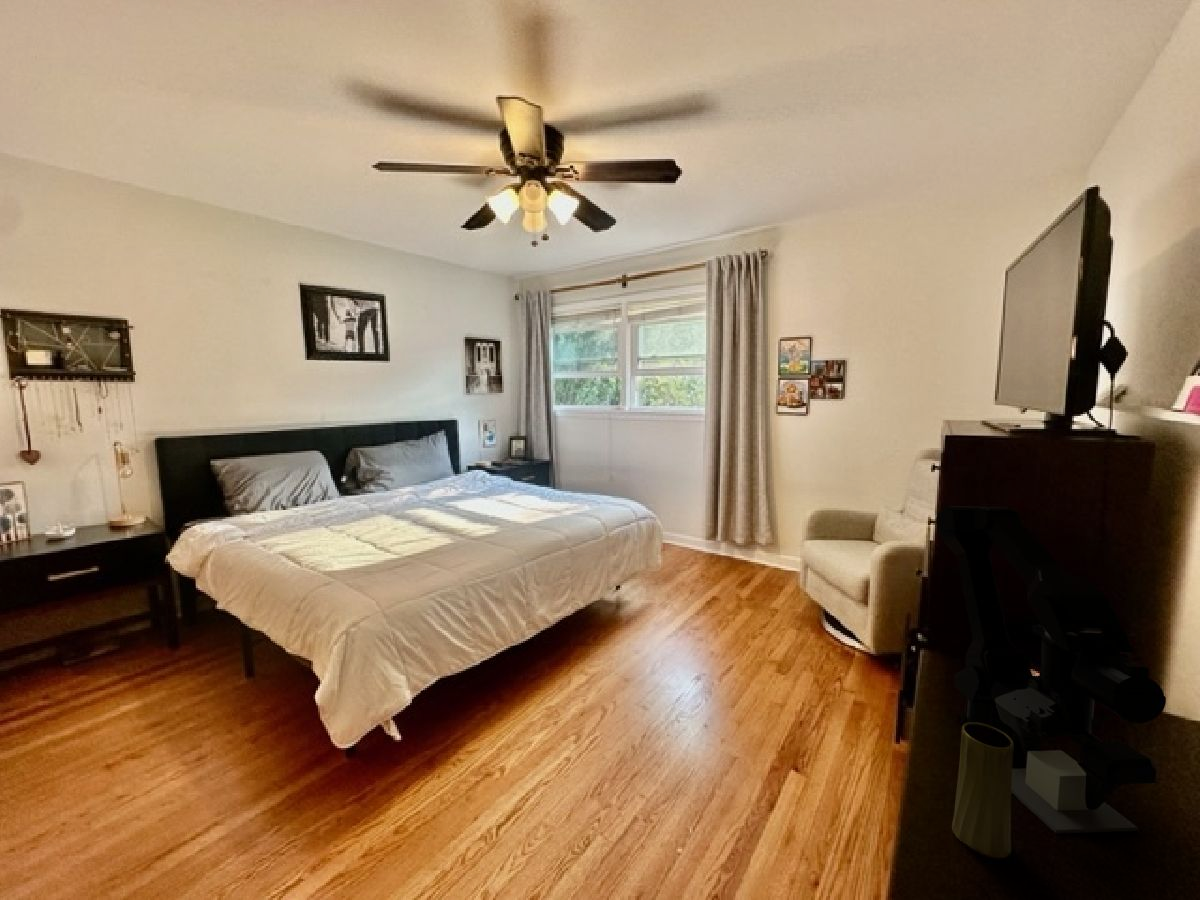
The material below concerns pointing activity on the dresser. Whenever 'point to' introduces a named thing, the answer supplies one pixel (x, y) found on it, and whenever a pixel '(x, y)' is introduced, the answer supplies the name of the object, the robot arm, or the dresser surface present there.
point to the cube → (1057, 779)
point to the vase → (984, 790)
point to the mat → (1068, 812)
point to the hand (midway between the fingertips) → (1058, 782)
